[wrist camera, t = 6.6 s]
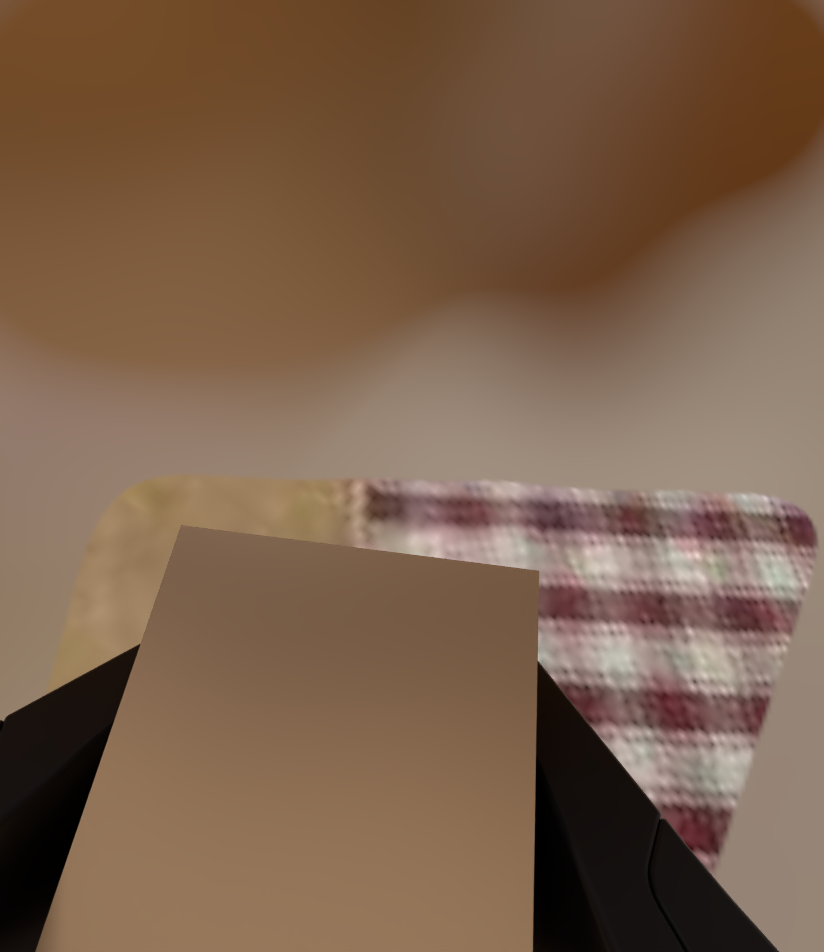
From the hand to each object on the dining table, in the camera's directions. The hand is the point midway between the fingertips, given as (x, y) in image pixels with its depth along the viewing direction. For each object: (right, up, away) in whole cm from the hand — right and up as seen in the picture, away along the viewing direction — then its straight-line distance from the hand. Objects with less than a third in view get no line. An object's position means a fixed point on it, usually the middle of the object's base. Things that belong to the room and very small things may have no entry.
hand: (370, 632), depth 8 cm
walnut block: (0, -4, +5) cm, 7 cm away
